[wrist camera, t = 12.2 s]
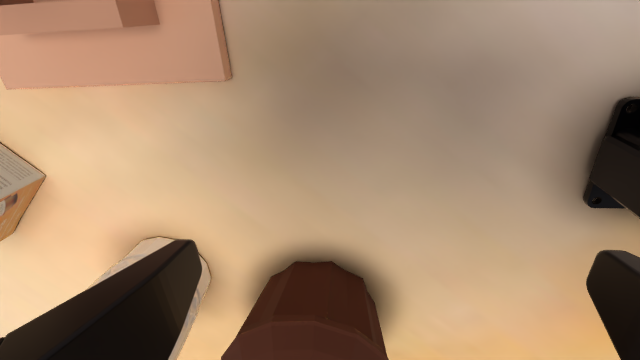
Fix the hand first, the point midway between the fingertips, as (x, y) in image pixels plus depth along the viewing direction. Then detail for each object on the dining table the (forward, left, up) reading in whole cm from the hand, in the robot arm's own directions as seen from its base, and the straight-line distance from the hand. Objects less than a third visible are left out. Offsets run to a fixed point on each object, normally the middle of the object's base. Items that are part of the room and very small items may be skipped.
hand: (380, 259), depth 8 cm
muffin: (+4, +16, -13) cm, 21 cm away
